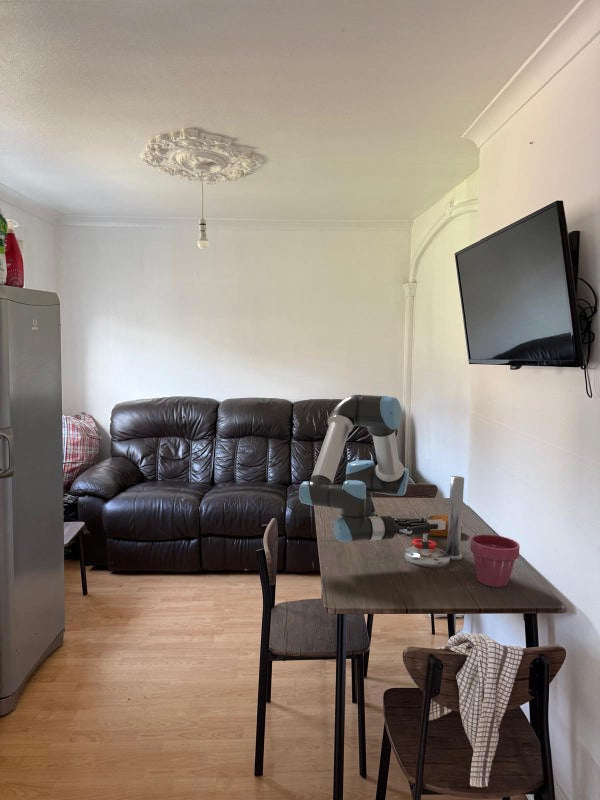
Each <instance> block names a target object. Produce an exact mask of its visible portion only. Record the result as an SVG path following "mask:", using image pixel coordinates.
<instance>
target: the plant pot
mask: <svg viewBox="0 0 600 800" xmlns="http://www.w3.org/2000/svg"><path fill="white" fill-rule="evenodd" d="M520 546H521V545H520V544H519V542H518V541H515V540H514V539H512V538H509V537H504V536H503V535H502V536H501V535H495V534H485V533H484V534H477V535H476V534H475V535H473V536H472V537H471V538H470V546H469V548H470V549H469V550H470V552H471V553H473V561H474V568H475V569H474V570H475V572H476V574H475V575H476V579H477V581H478V582H479V583H480V584H483V585H485V586H489V587H492V588H493V587H494V588H503V587H506V586H507V585H508V584H509V580H510V577H511V575H512V572H513V569H514V566H515V562H516V560H518V558H519V557H520Z"/></svg>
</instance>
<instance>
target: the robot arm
mask: <svg viewBox="0 0 600 800" xmlns="http://www.w3.org/2000/svg"><path fill="white" fill-rule="evenodd" d="M400 403H401V402H400V401H399V400H398V398H396V397H394V396H389V395H368V394H352V395H349V396H347V397H345V398H343V399H342V400H341V401H340V402H339V403H337V405H336V406H335V407H334V408H333V409H332V411H331V413H330V415H329V417H328V420H327V425H328V428H327V431H326V434H325V436H324V439H323V443H322V445H321V447H320V448H321V449H320V451H319V455H318V458H317V459H316V463H315V465H314V468H313V471H312V474H311V478H310V479H309V481H308V480H307V481H306V480H305V481H302V483H300V486H299V489H298V498H299V501H300V502H301V504H304V505H309V506H312V507H313V506H315V507H323V508H331V509H337V510H338V509H339V510H340V511H339V514H340V516H341V517H338V518H336V519H335V520H334V524H333V534H334V537H335V539H336V540H337V541H339V542H345V543H346V542H349V543H352V542H361V541H364V542H365V541H370V542H374V541H376V540H392V539H394V538H395V536H396V534H397V535H405V534H406V536H407V537H411V536H416V535H423V534H425V533H430V530H444V529H445V525H446V522H445V521H443V520H442V519H441V520H428V523H425V517H421V519H420V518H417V517H416V518H411V517H410V518H407V517H406V518H405V517H404V518H403V517H402V518H401V517H400V518H398V517H392V516H390V515H380V516H376V515H377V513H376V507H375V504H374V499H373V493H374V494H380V495H381V494H383V495H389V496H395V497H396V496H401V497H402V496H404V495H405V494H406V492H407V487H408V482H409V474H410V469H409V468H407V467H404V465H403V463H402V462H401V460H400V459H399V458H400V457H399V452H398V445H397V444H398V443H397V438H396V437H397V436H396V431H397V430H398V429H399V428H400V427H401V424H402V417H403V416H402V408H401V404H400ZM356 426H357V427H364V428H365V427H366V429H367V432H368V433H369V434H370V435H371V436H372V440H373V445H374V451H375V455H376V461H377V464H375V462H374V460H370V459H369V460H367V459H364V460H363V459H362V460H361V459H360V460H355V461H350V462H349V463H347V465H346V469H345V481H343V484H342V485H338V484H333V483H334V479H335V477H336V475H337V471H338V467H339V465H340V461H341V458H342V455H343V452H344V449H345V445H346V442H347V440H348V436H349V435H350V433H351V432H352V431H353V430H354V427H356Z"/></svg>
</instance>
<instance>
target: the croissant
mask: <svg viewBox="0 0 600 800" xmlns="http://www.w3.org/2000/svg"><path fill="white" fill-rule="evenodd" d="M428 517H429V519H428V520H441V519H442V520H443V521H445V522H446V525H445V529H444V530H430V533H428V536H433V537H447V535H448V518H449V515H446V514H436V515H430V516H428ZM462 531H463V525H462V524H461V532H462Z"/></svg>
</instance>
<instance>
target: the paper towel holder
mask: <svg viewBox="0 0 600 800" xmlns="http://www.w3.org/2000/svg"><path fill="white" fill-rule="evenodd" d="M464 485H465V477H464V476H460V475H453V476H451V477H450V486H449V487H450V489H449V505H448V516H449V518H448V535H447V536H446V537H447V538H446V550H443V549H441V548H438V547H435V550H433V549H422V548H415V545H413V546H410V547H407V548H406V549H404V559H405V560H406V562H408V563H410V564H412V565H415V566H418V567H421V568H423V567H424V568H431V569H433V568H436V569H437V568H444V567H447V566H449V564H451V563H450V562H451V561H454V562H455V561H457V562H458V561H462V560H463V553H461V539H462V538H461V536H462V535H461V534H462V531H461V525H462V524H463V523H462V521H463V504H464V503H463V502H464V488H465V486H464Z"/></svg>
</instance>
